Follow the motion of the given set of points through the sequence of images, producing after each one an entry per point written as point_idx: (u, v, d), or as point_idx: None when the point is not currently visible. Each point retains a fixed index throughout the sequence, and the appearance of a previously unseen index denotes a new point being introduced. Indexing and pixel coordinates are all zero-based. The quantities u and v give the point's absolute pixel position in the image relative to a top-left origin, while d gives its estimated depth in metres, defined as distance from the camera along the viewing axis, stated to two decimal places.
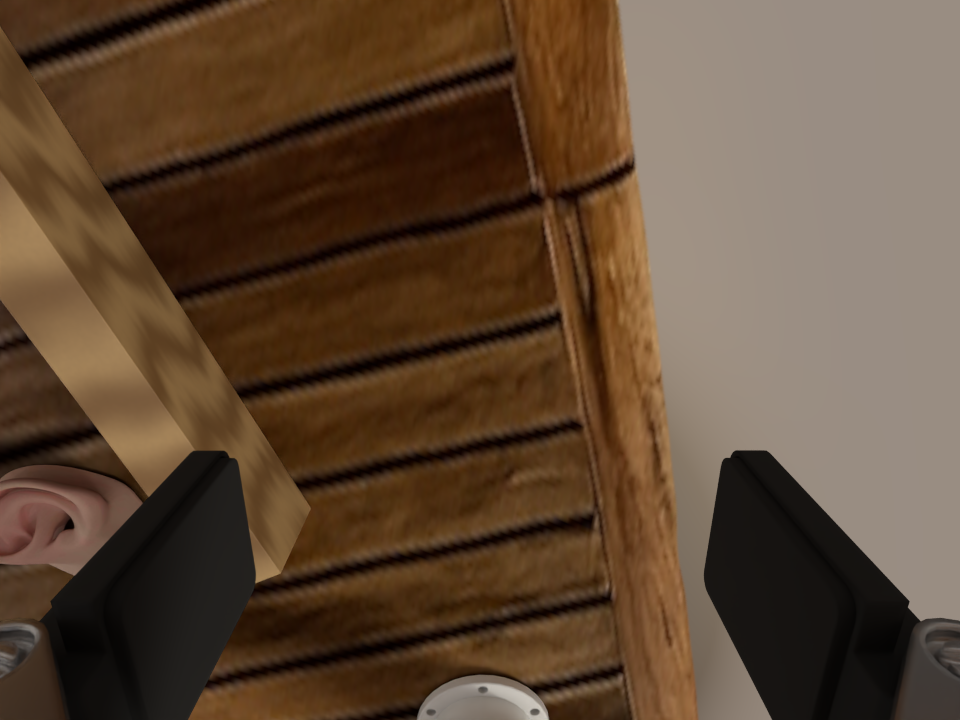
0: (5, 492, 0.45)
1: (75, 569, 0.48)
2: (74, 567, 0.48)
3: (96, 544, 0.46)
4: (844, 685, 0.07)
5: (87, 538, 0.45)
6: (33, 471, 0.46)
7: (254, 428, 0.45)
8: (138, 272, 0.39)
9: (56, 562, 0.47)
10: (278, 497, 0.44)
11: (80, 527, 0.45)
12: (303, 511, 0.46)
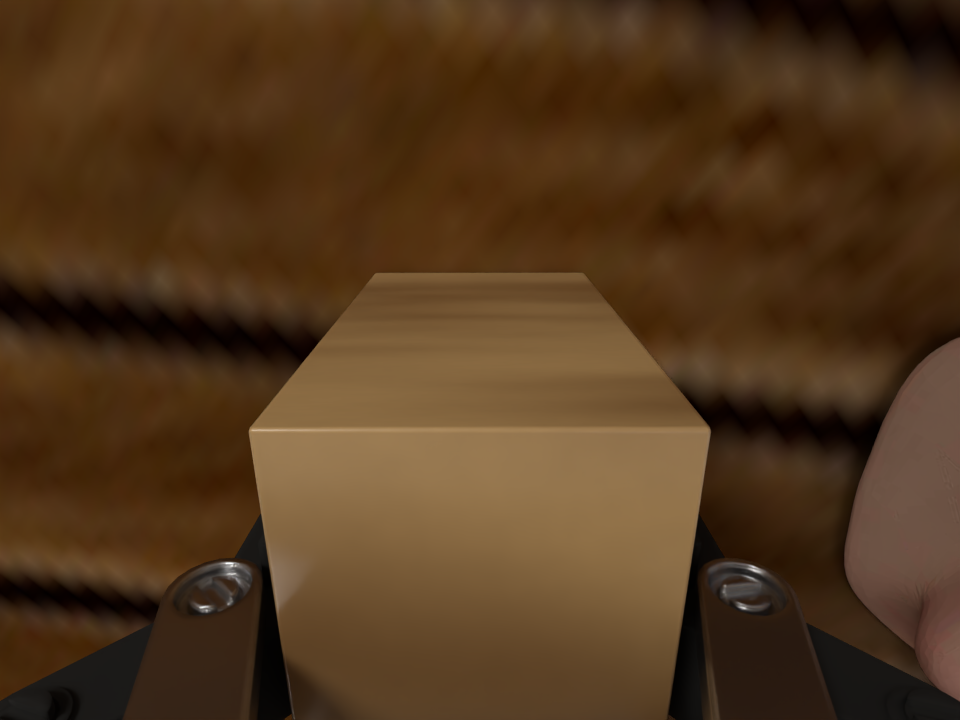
0: None
1: None
2: None
3: None
4: None
5: None
6: None
7: None
8: None
9: None
10: None
11: None
12: None
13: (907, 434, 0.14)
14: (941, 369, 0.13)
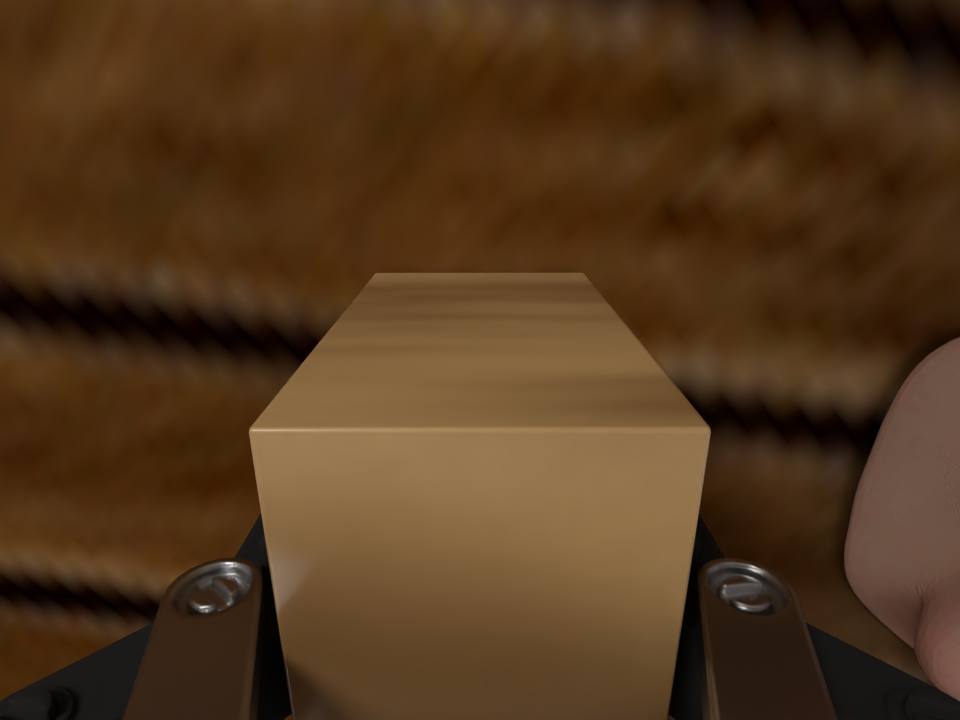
0: None
1: None
2: None
3: None
4: None
5: None
6: None
7: None
8: None
9: None
10: None
11: None
12: None
13: (907, 434, 0.14)
14: (941, 369, 0.13)
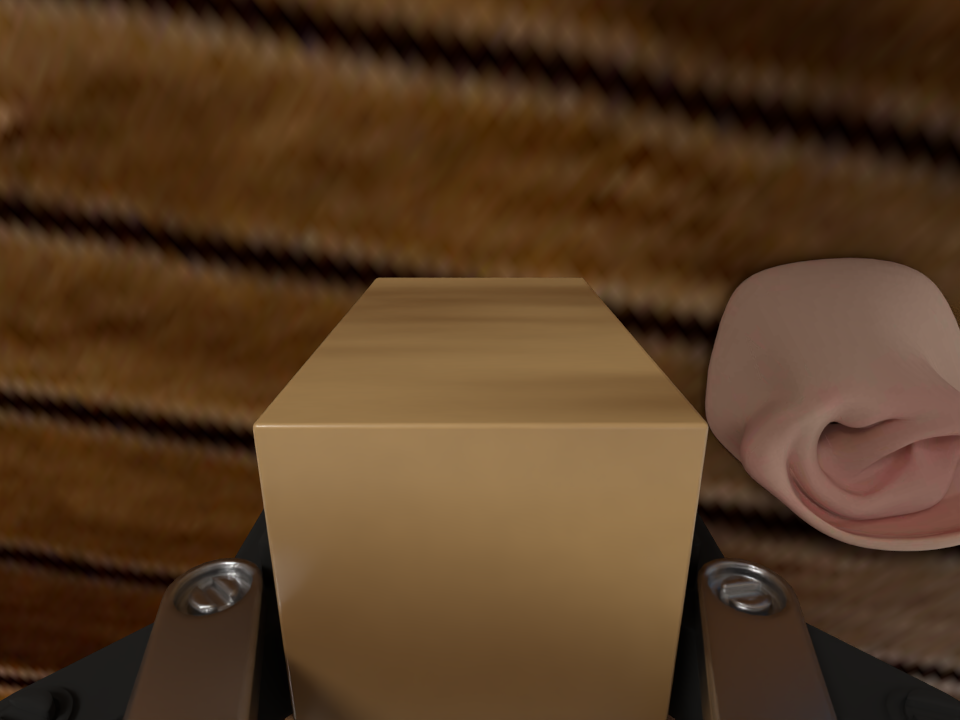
0: None
1: (921, 329, 0.24)
2: (917, 336, 0.23)
3: (821, 380, 0.23)
4: None
5: (819, 405, 0.23)
6: None
7: None
8: None
9: (924, 376, 0.23)
10: None
11: (812, 429, 0.23)
12: None
13: (731, 329, 0.24)
14: (746, 290, 0.24)
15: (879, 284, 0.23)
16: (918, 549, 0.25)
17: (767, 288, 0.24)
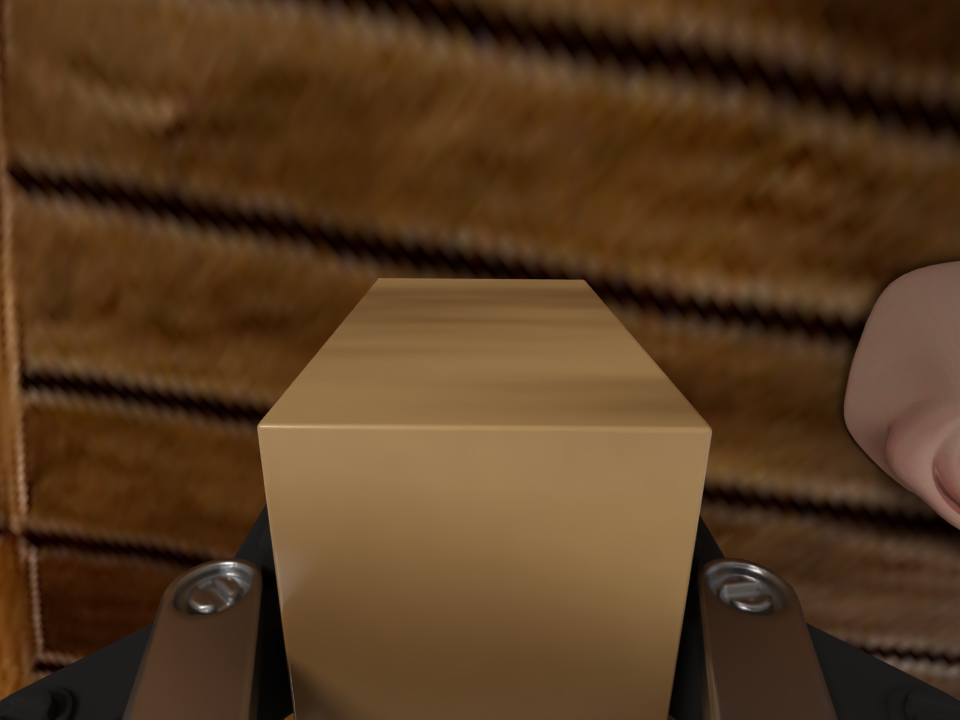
0: None
1: None
2: None
3: None
4: None
5: None
6: None
7: None
8: None
9: None
10: None
11: None
12: None
13: (879, 328, 0.24)
14: (898, 290, 0.24)
15: None
16: None
17: (920, 288, 0.24)
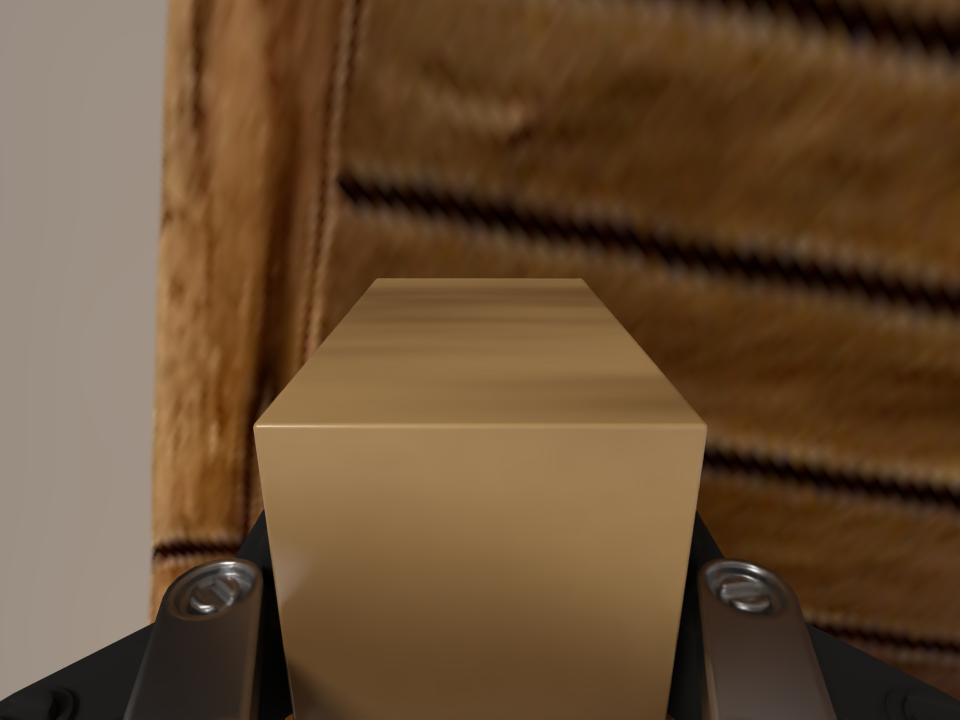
0: None
1: None
2: None
3: None
4: None
5: None
6: None
7: None
8: None
9: None
10: None
11: None
12: None
13: None
14: None
15: None
16: None
17: None
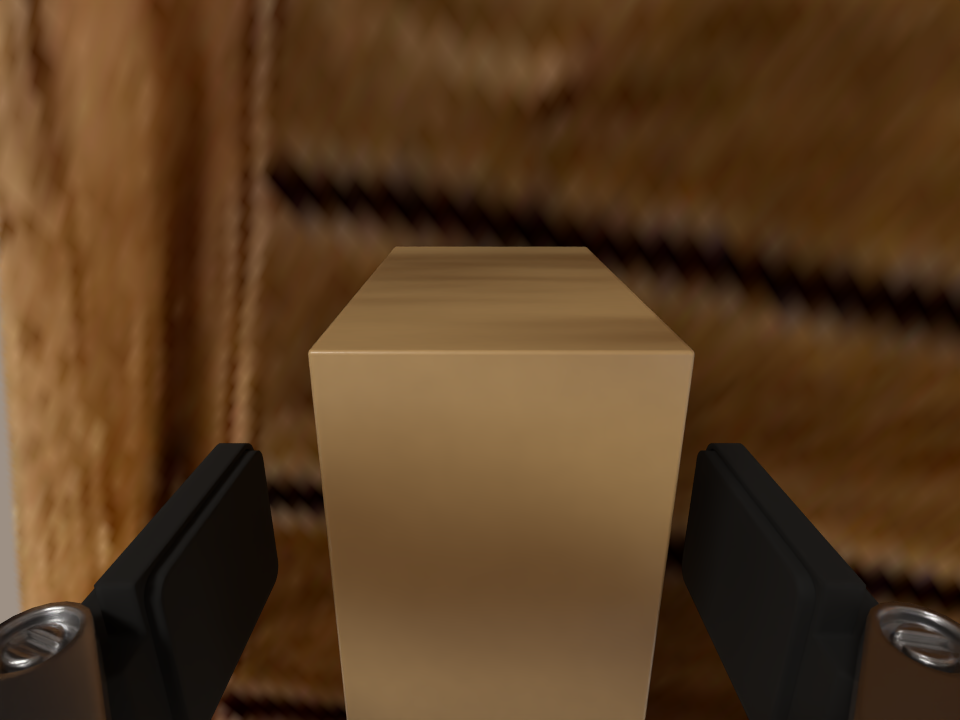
0: None
1: None
2: None
3: None
4: (805, 667, 0.08)
5: None
6: None
7: None
8: None
9: None
10: None
11: None
12: None
13: None
14: None
15: None
16: None
17: None
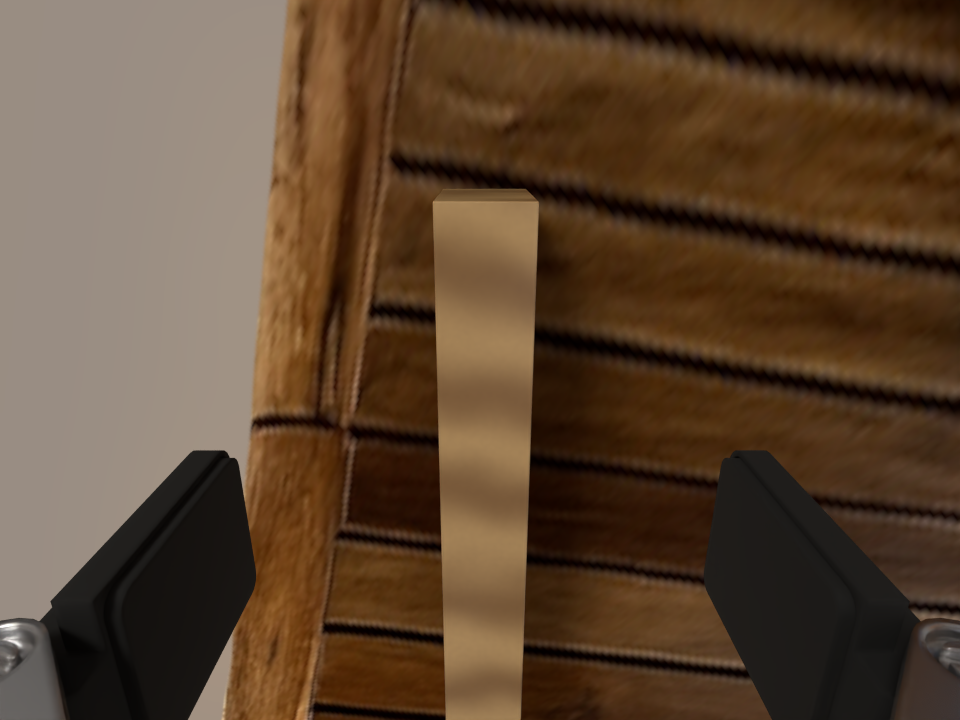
0: None
1: None
2: None
3: None
4: (844, 685, 0.07)
5: None
6: None
7: None
8: None
9: None
10: None
11: None
12: None
13: None
14: None
15: None
16: None
17: None
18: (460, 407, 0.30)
